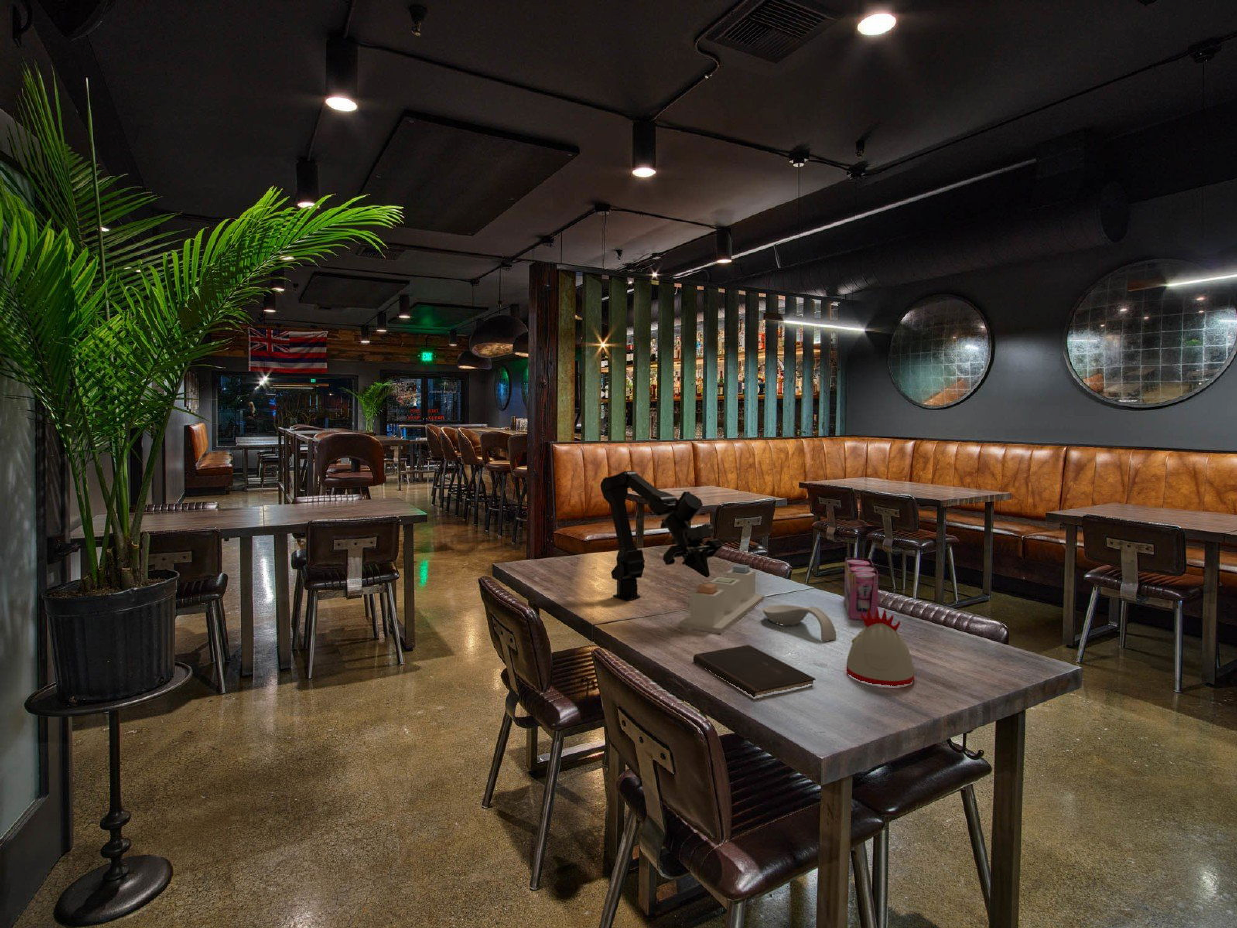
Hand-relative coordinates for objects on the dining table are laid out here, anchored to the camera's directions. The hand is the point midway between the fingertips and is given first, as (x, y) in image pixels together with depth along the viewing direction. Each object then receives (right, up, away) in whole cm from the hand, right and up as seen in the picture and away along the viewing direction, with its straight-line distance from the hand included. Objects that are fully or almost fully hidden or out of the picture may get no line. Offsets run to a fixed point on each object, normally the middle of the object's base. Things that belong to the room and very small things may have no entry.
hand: (708, 576), depth 176 cm
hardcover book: (+5, -17, -33) cm, 37 cm away
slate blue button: (+14, -5, +24) cm, 28 cm away
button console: (+7, -13, +13) cm, 19 cm away
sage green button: (+7, -7, +12) cm, 16 cm away
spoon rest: (+25, -14, -1) cm, 28 cm away
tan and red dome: (+33, -16, -34) cm, 50 cm away
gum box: (+48, -13, +17) cm, 52 cm away
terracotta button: (0, -6, 0) cm, 6 cm away
